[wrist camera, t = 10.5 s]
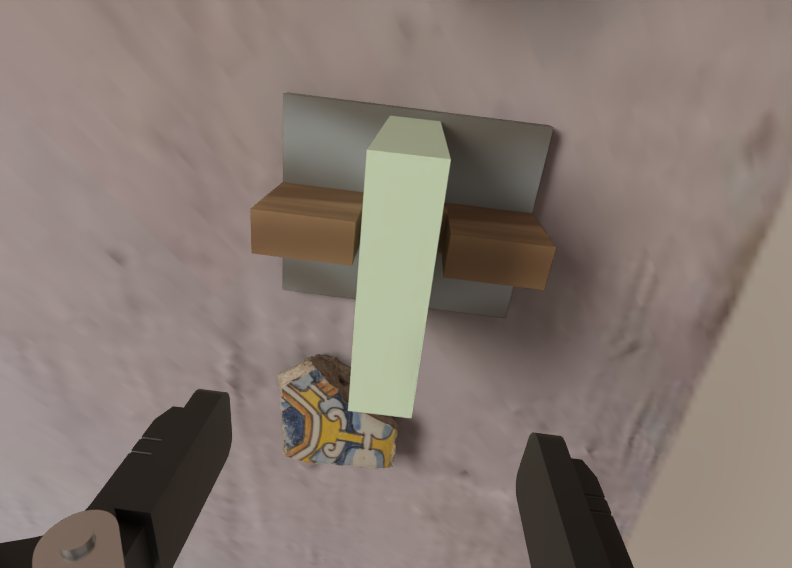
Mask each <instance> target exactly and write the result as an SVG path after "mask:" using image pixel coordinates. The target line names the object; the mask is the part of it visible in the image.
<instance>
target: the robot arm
mask: <svg viewBox="0 0 792 568" xmlns="http://www.w3.org/2000/svg"><path fill="white" fill-rule="evenodd" d="M231 442H232V426H231V410H230V397H229V394H228V393H227V392H219V391H212V390H204V389H198V390H196V391H195V393H194V394H193V395H192V397H191V398H190V400H189V401H188V402H187V404H186V405H185V407H184V408H182V407H174V406H173V407H172V408H170V409H169V410H167V411H166V412H165V413H163V414H162V415H160V416H159V417H157V418H156V419H155V420H154V421H153V422H152V424H151V425H150V426H149V427H148V429H147V430H146V431H145V433H144V434H143V435H142V439H139V441H138V442H137V443H136V445H135V446H134V447H133V449H132V452H131V453H129V454H128V455H127V457H126V458H125V459H124V461H123V462H122V463H121V465H120V466H119V467H118V469H117V470H116V471H115V473H114V474H113V475H112V477H111V478H110V479H109V480H108V482H107V483H106V484H105V486H104V487H103V488H102V490H101V491H100V492H99V494H98V495H97V496H96V498H95V499H94V500H93V502H92V503H91V504H90V506H89V507H88V508H87V509H86V510H85V511H82V512H79V513H76V514H73V515H71V516H68V517H67V518H65V519H63V520H61V521H60V522H58V523H57V524H55V525H54V526H53V527H52V528H50V529H49V530H48V531H47V532H46V533H45V534H44V535H43V536H39V537H34V538H29V539H23V540H17V541H11V542H5V543H0V568H173V566H174V564H175V562H176V560H177V558H178V556H179V554H180V552H181V550H182V548H183V546H184V544H185V542H186V540H187V538H188V536H189V534H190V532H191V530H192V528H193V526H194V524H195V522H196V520H197V518H198V516H199V514H200V512H201V510H202V508H203V506H204V504H205V502H206V500H207V498H208V496H209V494H210V492H211V490H212V488H213V486H214V484H215V482H216V480H217V478H218V476H219V474H220V472H221V470H222V468H223V466H224V464H225V462H226V460H227V457H228V455H229V451H230V447H231ZM516 496H517V502H518V506H519V511H520V516H521V521H522V526H523V531H524V535H525V540H526V545H527V550H528V555H529V559H530V564H531V568H634V567H633V565H632V562H631V559H630V557H629V555H628V552H627V550H626V547H625V545H624V542H623V540H622V537H621V535H620V533H619V530H618V528H617V525H616V523H615V520H614V518H613V517H612V516H611V511H610V508H609V506H608V503H607V501H606V500H605V499H604V497H605V496H604V494H603V491H602V489H601V486H600V484H599V481H598V479H597V477H596V476H595V475H594V473H593V472H592V471H591V470H590V469H589V467H588V466H587V465H586V464H585V463H584V462H583V460H580V459H573V458H571V457H570V454H569V451H568V448H567V446H566V443H565V441H564V439H563V437H561V436H556V435H549V434H541V433H531V434H530V436H529V439H528V442H527V445H526V448H525V451H524V454H523V457H522V460H521V463H520V467H519V470H518V473H517V478H516Z"/></svg>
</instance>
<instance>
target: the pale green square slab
mask: <svg viewBox="0 0 792 568" xmlns="http://www.w3.org/2000/svg"><path fill="white" fill-rule="evenodd" d="M450 162H451V158H450V154H449V151H448V147H447V143H446V140H445V136H444V132H443V128H442V125H441V121H433V120H425V119H416V118H407V117H398V116H390V117H389V118H388V119H387V121H386V122H385V124H384V125H383V127H382V128H381V130H380V131H379V133H378V134H377V136H376V137H375V138H374V140H373V141H372V143H371V144H370V146H369V147H368V149H367V154H366V168H365V182H364V196H363V209H362V223H361V237H360V251H359V265H358V279H357V293H356V306H355V320H354V334H353V348H352V362H351V376H350V390H349V403H348V411H354V412H362V413H371V414H379V415H387V416H396V417H404V418H412V411H413V405H414V398H415V391H416V385H417V378H418V372H419V365H420V359H421V352H422V345H423V339H424V332H425V326H426V319H427V313H428V306H429V300H430V293H431V286H432V280H433V273H434V267H435V260H436V254H437V247H438V241H439V234H440V227H441V221H442V214H443V208H444V201H445V195H446V188H447V181H448V175H449V168H450Z"/></svg>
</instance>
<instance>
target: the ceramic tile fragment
mask: <svg viewBox="0 0 792 568" xmlns="http://www.w3.org/2000/svg"><path fill="white" fill-rule="evenodd" d="M350 376H351V368H350V367H348V366H346V365H344V364H342V363H341V362H340V361H338V359H337V357H328V356H323V355H320V354H318V355H315V356H314V357H312V356H311V357H308V358H307V359H305V360H304V361H302V362H301V363H300V364H298V365H296V366H294V367H292V368H290V369H288V370H286V371H284V372H281V373H278V374H277V379H278V382H279V388H280V391H281V400H280V407H281V415H282V425H283V453H284V455H285V456H287V457H290V458H293V459H294V460H301V461H304V462H308V463H324V464H335V465H352V466H356V467H364V468H389V467H393V465H392V462H393V461H394V460H393V459H394V455H395V452H396V451H395V449H396V445H395V441H396V437H398V436H397V434H398V424H397V423H396V421H395V420H394V419H393V417H392V416H387V415H379V414H371V413H362V412H354V411H348V403H349V390H350Z"/></svg>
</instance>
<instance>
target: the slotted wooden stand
mask: <svg viewBox="0 0 792 568" xmlns="http://www.w3.org/2000/svg"><path fill="white" fill-rule="evenodd" d="M390 116H398V117H407V118H416V119H425V120H433V121H441V125H442V128H443V132H444V136H445V140H446V143H447V147H448V151H449V154H450V158H451V162H450V168H449V175H448V181H447V188H446V195H445V201H444V208H443V214H442V221H441V227H440V234H439V241H438V247H437V254H436V260H435V267H434V273H433V280H432V286H431V293H430V300H429V306H428V308H430V309H438V310H446V311H454V312H462V313H470V314H477V315H485V316H493V317H501V318H506V314H507V310H508V306H509V302H510V298H511V294H512V291H513V287H514V286H515V287H522V288H530V289H538V290H544V289H545V285H546V282H547V278H548V275H549V271H550V268H551V264H552V261H553V257H554V254H555V250H556V246H555V245H554V244H553V242H552V241H551V239H550V238H549V237H548V235H547V234H546V232H545V231H544V230H543V228H542V227H541V225H540V224H539V223H538V221H537V220H536V218H535V217H534V216H533V214H532V211H533V207H534V203H535V199H536V195H537V191H538V187H539V184H540V180H541V176H542V172H543V168H544V164H545V160H546V156H547V152H548V148H549V144H550V140H551V136H552V132H553V128H554V127H552V126H550V125H542V124H534V123H526V122H518V121H510V120H502V119H494V118H486V117H478V116H470V115H462V114H454V113H446V112H438V111H430V110H422V109H414V108H406V107H399V106H391V105H383V104H375V103H367V102H359V101H351V100H343V99H335V98H327V97H319V96H311V95H303V94H295V93H283V182H282V183H281V184H280V185H279V186H277V187H276V188H275V189H274V190H273V191H271V192H270V193H269V194H268V195H267V196H265V197H264V198H263V199H262V200H261V201H259V202H258V203H257V204H256V205H254V206H253V207H252V208H251V209H250V210H251V245H252V253H254V254H262V255H270V256H278V257H283V290H288V291H296V292H304V293H312V294H320V295H328V296H336V297H344V298H351V299H356V293H357V279H358V265H359V251H360V237H361V223H362V209H363V196H364V182H365V168H366V154H367V149H368V147H369V146H370V144H371V143H372V141H373V140H374V138H375V137H376V136H377V134H378V133H379V131H380V130H381V128H382V127H383V125H384V124H385V122H386V121H387V119H388V118H389V117H390Z"/></svg>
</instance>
